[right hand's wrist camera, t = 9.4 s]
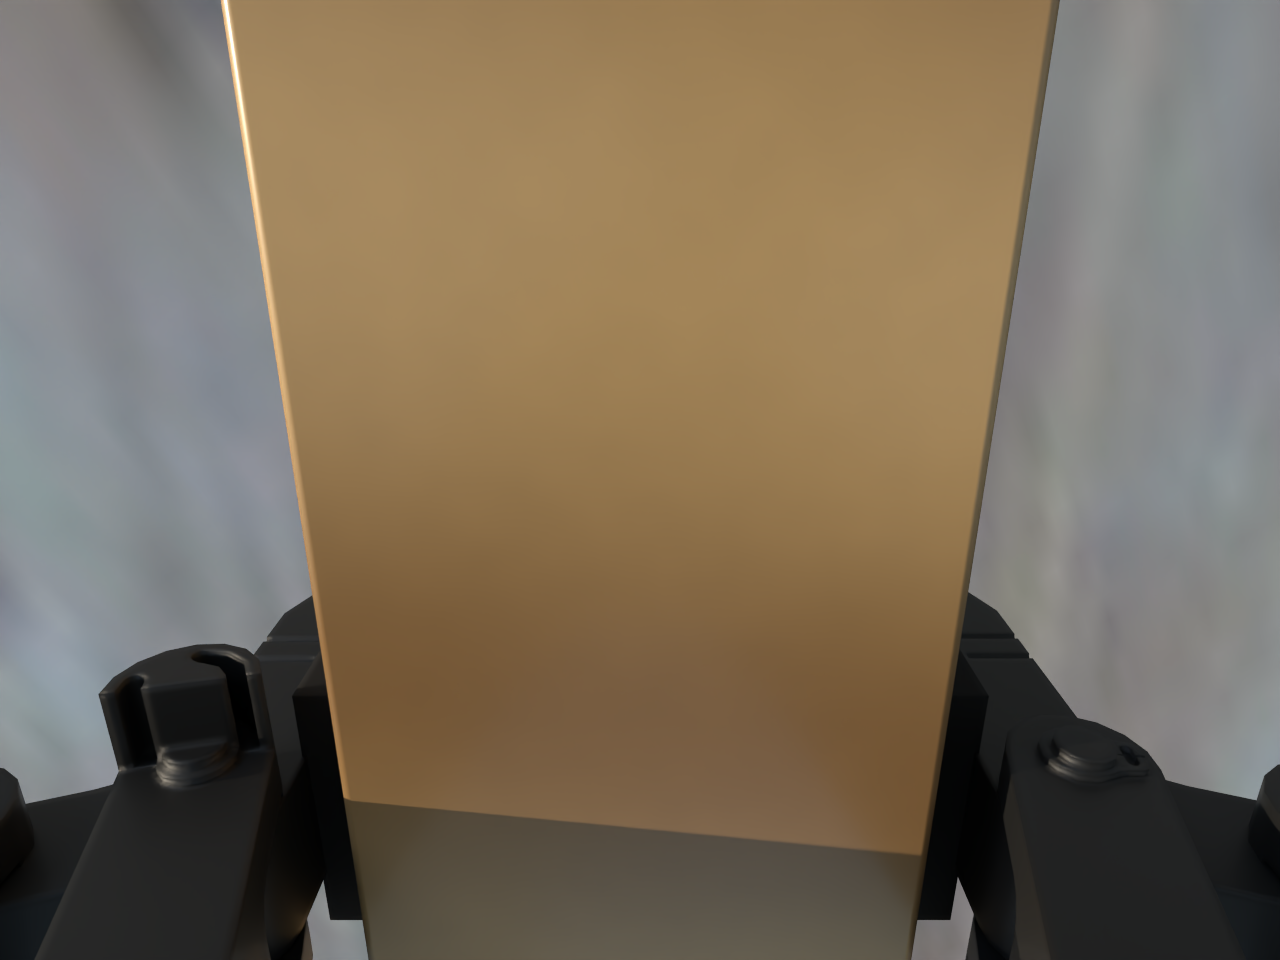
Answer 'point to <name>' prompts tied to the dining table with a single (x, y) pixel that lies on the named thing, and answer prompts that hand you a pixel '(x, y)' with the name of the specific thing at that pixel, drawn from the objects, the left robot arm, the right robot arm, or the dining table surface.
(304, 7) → the board
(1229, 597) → the dining table surface
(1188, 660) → the dining table surface
